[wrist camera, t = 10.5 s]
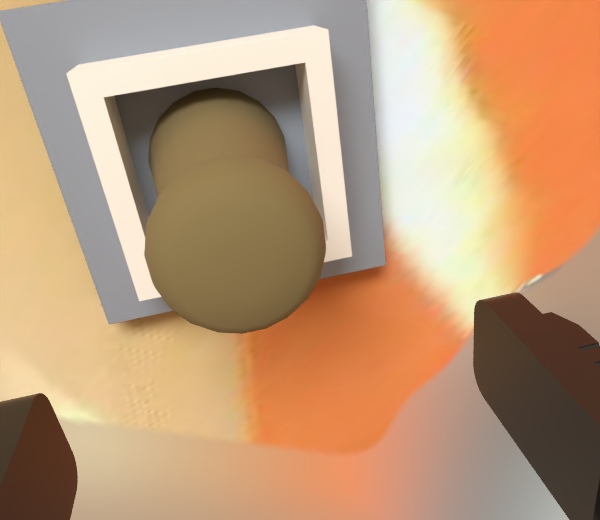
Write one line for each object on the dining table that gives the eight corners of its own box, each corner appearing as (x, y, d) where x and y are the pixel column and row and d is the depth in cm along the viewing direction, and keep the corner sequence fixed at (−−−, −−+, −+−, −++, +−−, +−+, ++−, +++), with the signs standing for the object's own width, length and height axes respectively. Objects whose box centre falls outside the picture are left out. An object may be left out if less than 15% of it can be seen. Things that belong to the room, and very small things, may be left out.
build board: (352, -44, 23) (382, -49, 20) (377, 252, 30) (402, 288, 26) (8, 9, 22) (-26, 14, 18) (112, 308, 28) (102, 354, 25)
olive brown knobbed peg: (237, 245, 26) (268, 397, 17) (120, 177, 24) (77, 307, 14) (313, 141, 25) (397, 241, 15) (197, 56, 22) (208, 111, 13)
